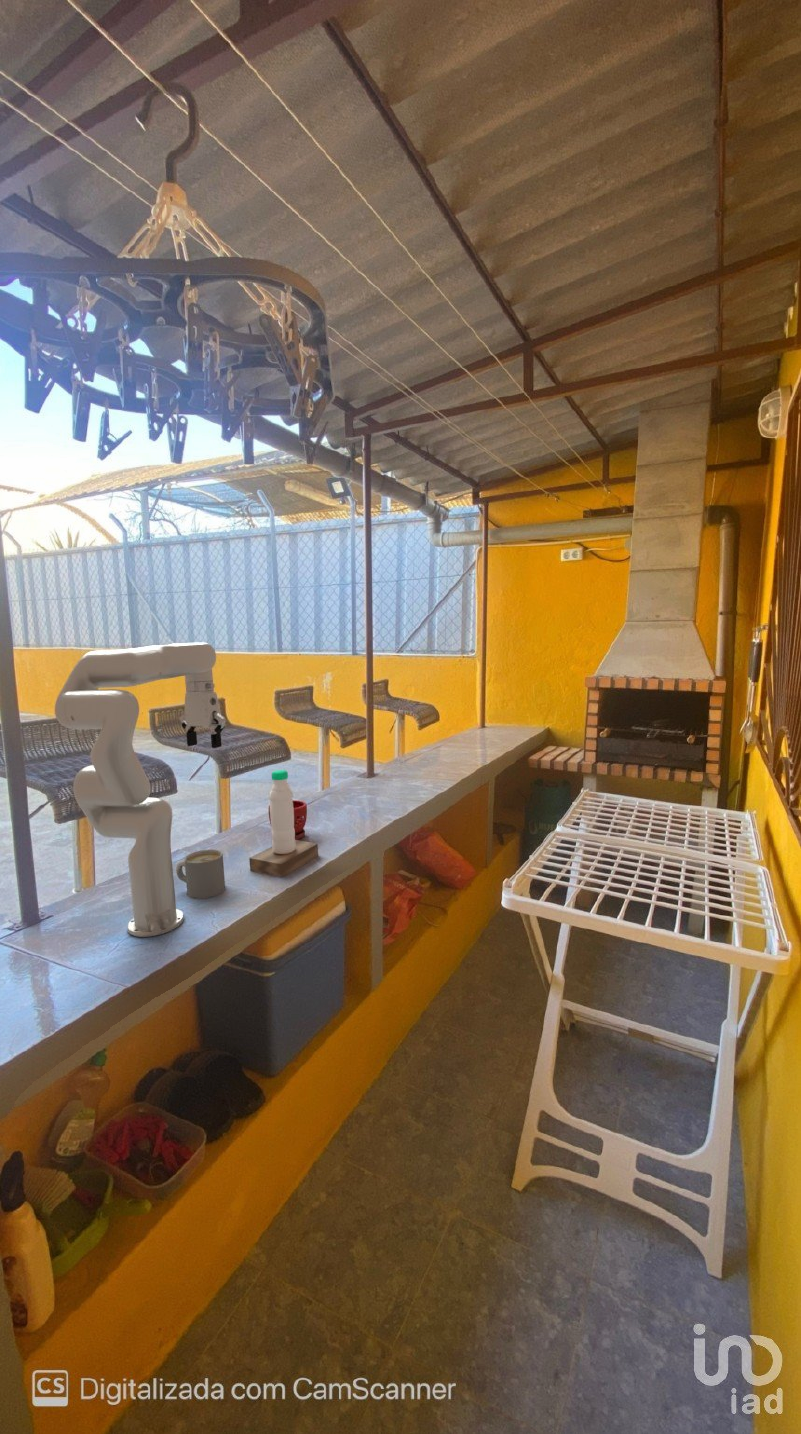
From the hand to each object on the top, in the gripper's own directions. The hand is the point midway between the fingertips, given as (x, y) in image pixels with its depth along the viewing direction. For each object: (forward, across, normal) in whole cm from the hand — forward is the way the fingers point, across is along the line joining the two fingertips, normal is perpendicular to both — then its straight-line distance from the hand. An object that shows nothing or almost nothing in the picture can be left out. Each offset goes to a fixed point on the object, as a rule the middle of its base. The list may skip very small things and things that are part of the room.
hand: (204, 746), depth 162 cm
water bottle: (+34, -15, -14) cm, 40 cm away
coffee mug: (+38, -6, +10) cm, 40 cm away
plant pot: (+39, -1, -34) cm, 51 cm away
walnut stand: (+38, -15, -14) cm, 44 cm away
